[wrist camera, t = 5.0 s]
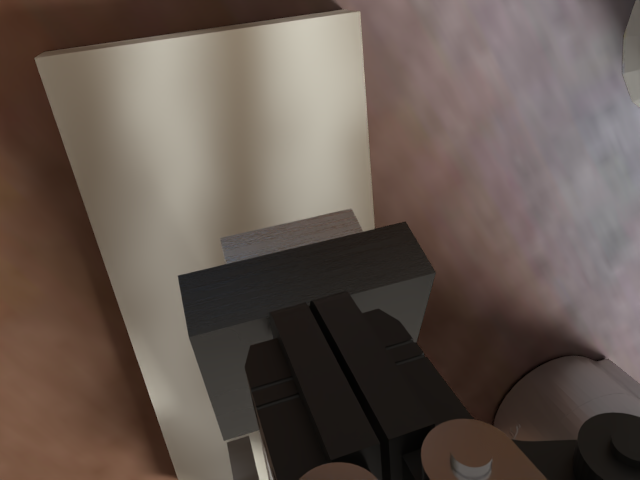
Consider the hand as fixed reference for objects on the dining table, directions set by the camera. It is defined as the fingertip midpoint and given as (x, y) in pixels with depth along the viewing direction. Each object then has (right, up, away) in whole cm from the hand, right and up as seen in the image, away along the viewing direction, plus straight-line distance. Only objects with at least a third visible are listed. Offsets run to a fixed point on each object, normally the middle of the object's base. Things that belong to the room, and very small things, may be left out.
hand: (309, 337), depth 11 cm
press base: (-3, 0, +16) cm, 17 cm away
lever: (-1, -5, +9) cm, 10 cm away
